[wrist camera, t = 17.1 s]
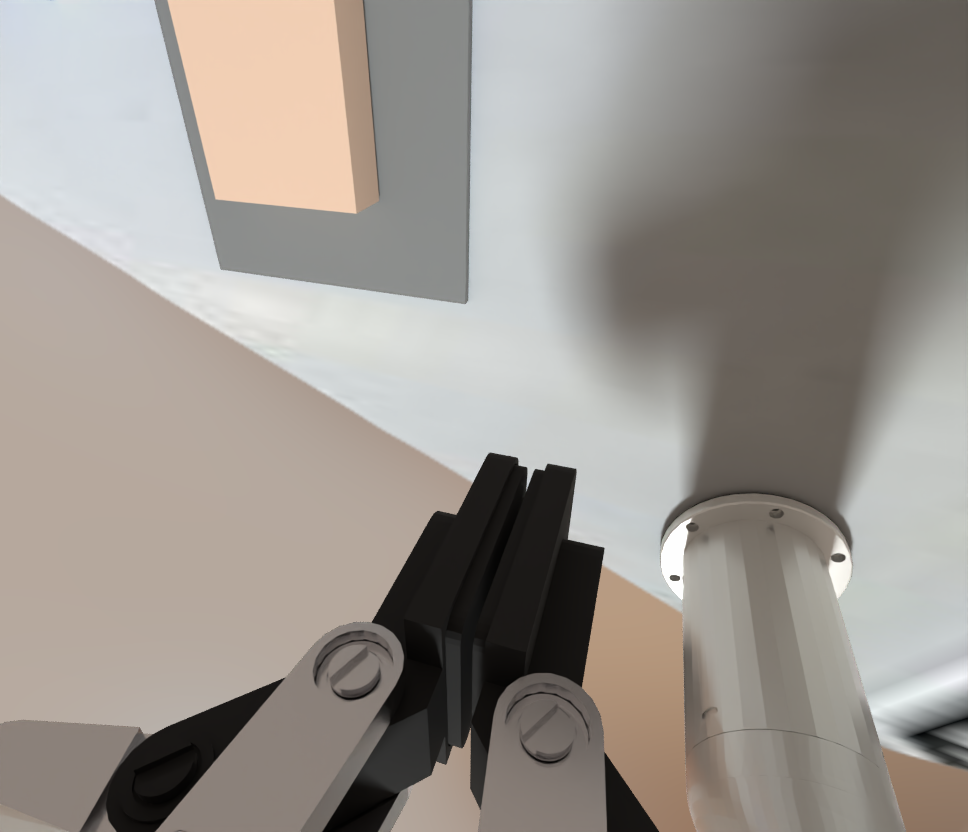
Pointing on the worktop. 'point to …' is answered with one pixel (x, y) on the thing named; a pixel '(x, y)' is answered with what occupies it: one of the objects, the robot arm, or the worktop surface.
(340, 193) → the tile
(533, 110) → the worktop surface
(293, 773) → the robot arm
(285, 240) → the mat
